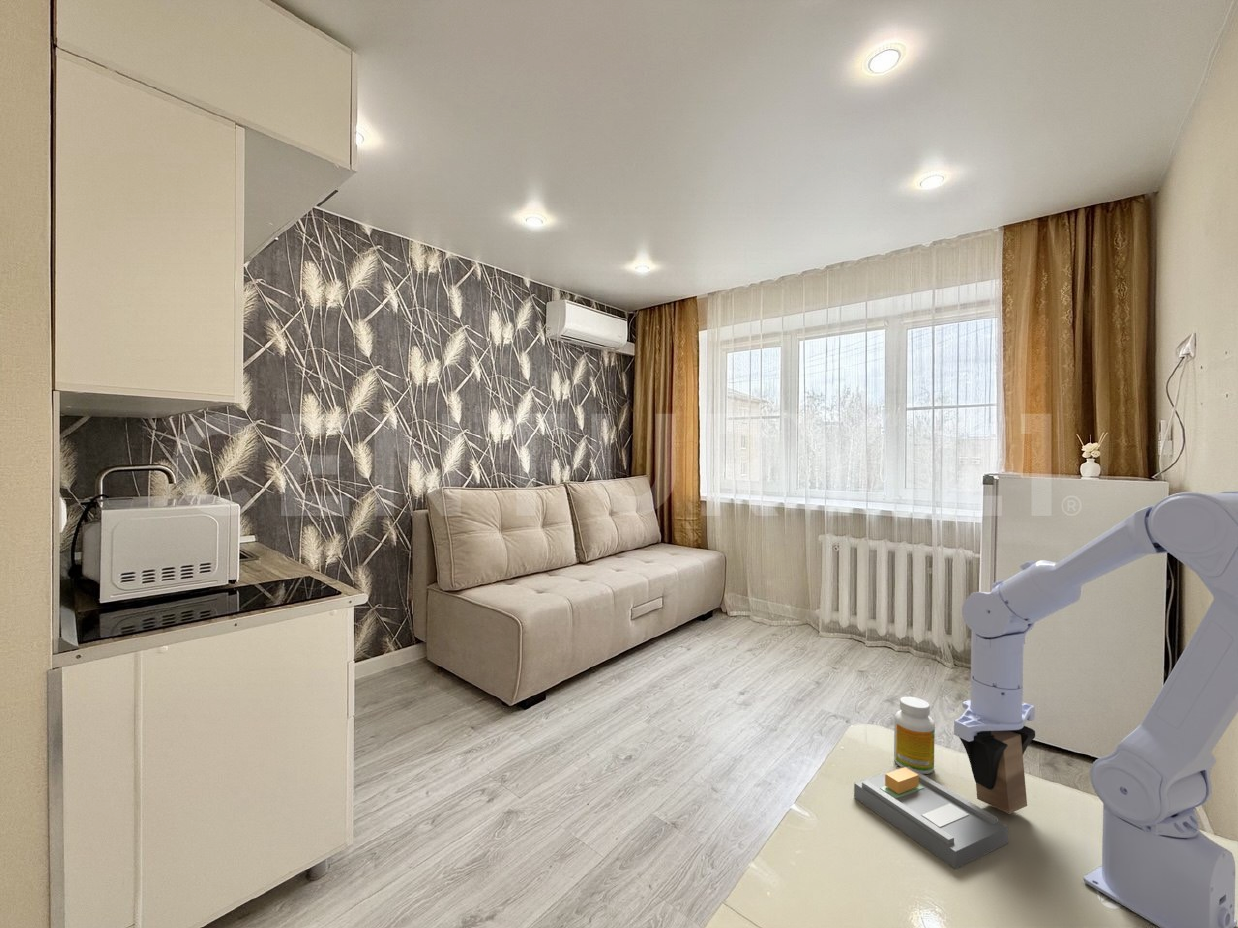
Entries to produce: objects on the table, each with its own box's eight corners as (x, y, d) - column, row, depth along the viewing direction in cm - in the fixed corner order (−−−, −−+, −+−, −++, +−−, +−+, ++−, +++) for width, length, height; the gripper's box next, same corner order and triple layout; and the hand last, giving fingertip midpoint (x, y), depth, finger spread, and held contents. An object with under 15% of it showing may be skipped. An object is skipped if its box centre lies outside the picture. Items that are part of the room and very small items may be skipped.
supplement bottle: (940, 777, 78) (941, 711, 78) (900, 772, 79) (901, 707, 79) (926, 757, 83) (927, 695, 83) (889, 753, 84) (890, 692, 84)
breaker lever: (918, 786, 72) (918, 774, 72) (898, 793, 70) (898, 781, 70) (905, 778, 74) (905, 766, 74) (885, 785, 72) (885, 773, 72)
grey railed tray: (1007, 843, 65) (1008, 822, 64) (955, 868, 60) (955, 846, 60) (903, 779, 77) (903, 762, 77) (854, 797, 73) (854, 778, 73)
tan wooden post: (1027, 805, 70) (1020, 734, 70) (1009, 813, 68) (1002, 741, 69) (995, 791, 73) (989, 724, 74) (977, 798, 72) (971, 729, 72)
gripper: (997, 662, 78) (995, 753, 78) (932, 677, 72) (930, 777, 72) (1052, 680, 72) (1050, 780, 72) (987, 699, 66) (985, 808, 66)
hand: (994, 780), depth 72 cm, fingers closed on tan wooden post, 4 cm apart
